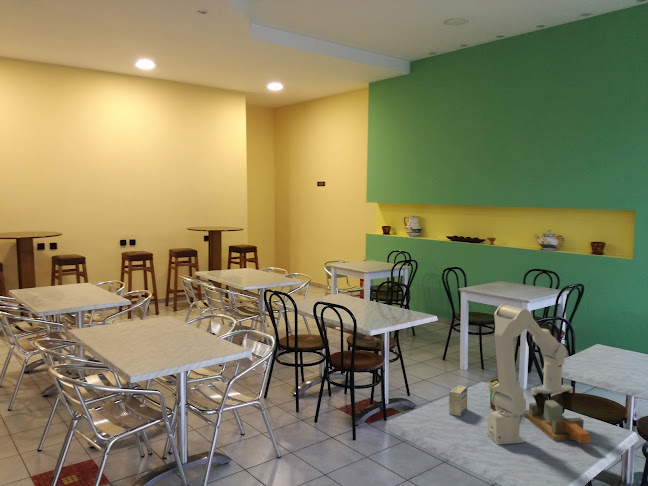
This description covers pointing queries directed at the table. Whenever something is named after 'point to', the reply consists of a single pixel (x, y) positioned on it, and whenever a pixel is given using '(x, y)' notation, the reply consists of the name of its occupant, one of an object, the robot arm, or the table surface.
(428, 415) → the table surface
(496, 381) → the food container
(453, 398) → the medicine box
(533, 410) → the press
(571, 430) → the clamp jaw
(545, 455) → the table surface
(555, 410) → the block
